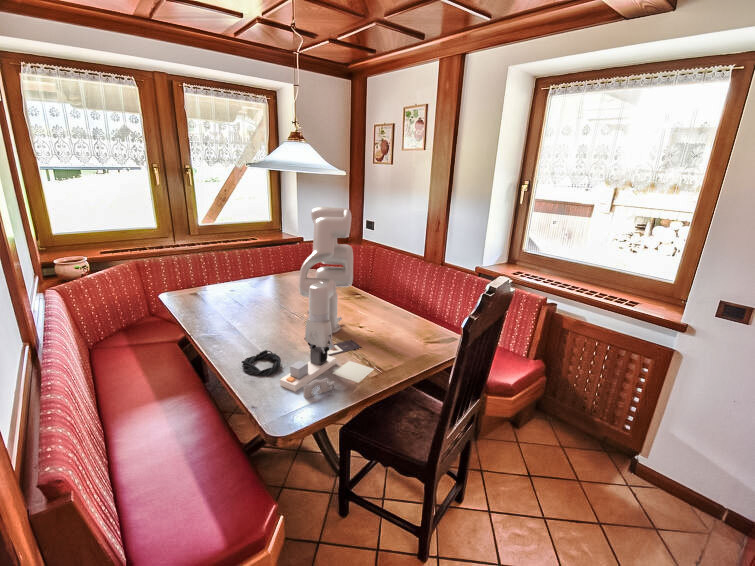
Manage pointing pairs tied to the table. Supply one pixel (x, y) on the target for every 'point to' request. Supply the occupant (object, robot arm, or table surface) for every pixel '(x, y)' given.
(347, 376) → the mat
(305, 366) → the grey plug
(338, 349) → the chocolate bar
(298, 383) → the long white plastic board
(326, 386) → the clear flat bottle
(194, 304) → the table surface
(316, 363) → the grey rectangular block
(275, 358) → the cable
